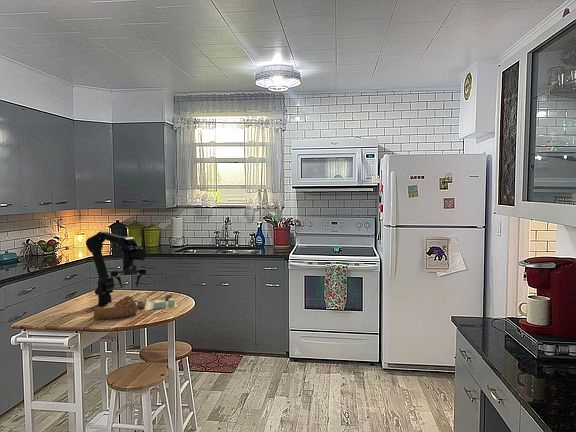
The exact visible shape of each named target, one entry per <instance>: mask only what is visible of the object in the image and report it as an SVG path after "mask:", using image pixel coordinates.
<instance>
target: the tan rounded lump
mask: <svg viewBox="0 0 576 432" xmlns="http://www.w3.org/2000/svg"><path fill="white" fill-rule="evenodd" d="M136 302H137V301H135V299H134V298H133V297H132V296H129V295H127V296H124V297H123V298H121V299H119V300H118V301H116V303H115V304H114V305H113V306H110V307H109V306H108V307H102V306H98V307H97V306H96V307H95V308H94V311H93V318H94V319H93V320H95V321H96V320H115V319H122V318H126V317H130V316H134V315H136V314H137V313H138V311H137V310H138V307H137V304H136Z"/></svg>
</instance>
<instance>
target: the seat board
mask: <svg viewBox="0 0 576 432" xmlns="http://www.w3.org/2000/svg"><path fill="white" fill-rule="evenodd" d="M164 296H165V298H164V299H155V300H146V301H147V302H146V304H145V308H143V309H138V310H137V312H139V311H140V312H141V311H150V310H156V309H155V308H154V302H160V301H166V308H168V309H169V308H174V307H175V308H176V307H179V306H178V304H177V303H176V302H175V306H170V305H169V300H168V299H170V298H173V297H172V296H173V295H172V294H171V293H166V294H165V295H164ZM135 302H136V304H137V302H138V301H135ZM166 308H165V309H166ZM158 309H160V308H158ZM158 309H157V310H158Z"/></svg>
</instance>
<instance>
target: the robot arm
mask: <svg viewBox="0 0 576 432" xmlns="http://www.w3.org/2000/svg"><path fill="white" fill-rule="evenodd" d="M105 241H109V242H111V243H115V244H116V245H117V246H118V247H120V249H119V252H121V253H122V270H119V269H112V270H110V274H108V271H107V267H106V262H105V260H104V256H103V252H102V250H103V243H104V242H105ZM85 245H86V247H87V250H88V251H89V252H90V253H91V254H92V257H93V261H94V264H95V269H96V271H97V275H98V281H97V288H96V289H95V290H94V294H95V296H98V303H97V304H98V307H102V306H107V305H108V304H109V303H112V295H111V293H113V292H114V288H115V281H114V279H117V281H118V283H119V286H120V288H121V289H123V283H122V282H123V281H122V276H121V275H124V276H128V275H131V276H132V275H134V274H136V275H137V276H136V284H135V288H138V285H139V281H140V279H141V277H143V276H144V275H147V269H146V268H145V267H141V268H139V267H138V269H137V265H135V264H134V263H135V262H134V261H140V262H141V261H142V262H143V261H144V260H146V257H147V254H146V251H145V250H144V248H143V247H139V246H138V244H137V242H136V240H135V238H134V237H133V236H121V235H118V234H116V233H111V232H108V231H106V230H102V231H98V232H97V233H96V234H94V235H91V236H90V237H89V238H87V239H86V241H85ZM109 275H110V276H109Z"/></svg>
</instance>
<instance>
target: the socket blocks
mask: <svg viewBox="0 0 576 432" xmlns="http://www.w3.org/2000/svg"><path fill="white" fill-rule="evenodd" d="M168 300H169V305H170V306H175V303H176V300H175V298H173V297H172V298H170V299H168ZM154 308H155V309H154V310H158V308H159V309H166V301H160V302H154Z"/></svg>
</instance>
